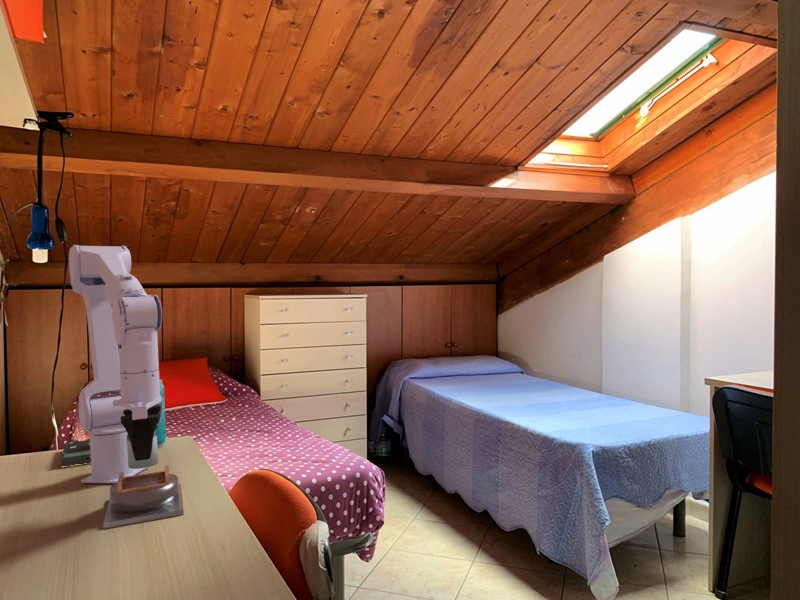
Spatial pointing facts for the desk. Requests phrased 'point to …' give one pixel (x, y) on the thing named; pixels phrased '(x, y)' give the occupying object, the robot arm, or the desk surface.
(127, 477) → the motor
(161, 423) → the beverage can
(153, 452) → the cylinder
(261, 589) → the desk surface
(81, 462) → the disk drive
